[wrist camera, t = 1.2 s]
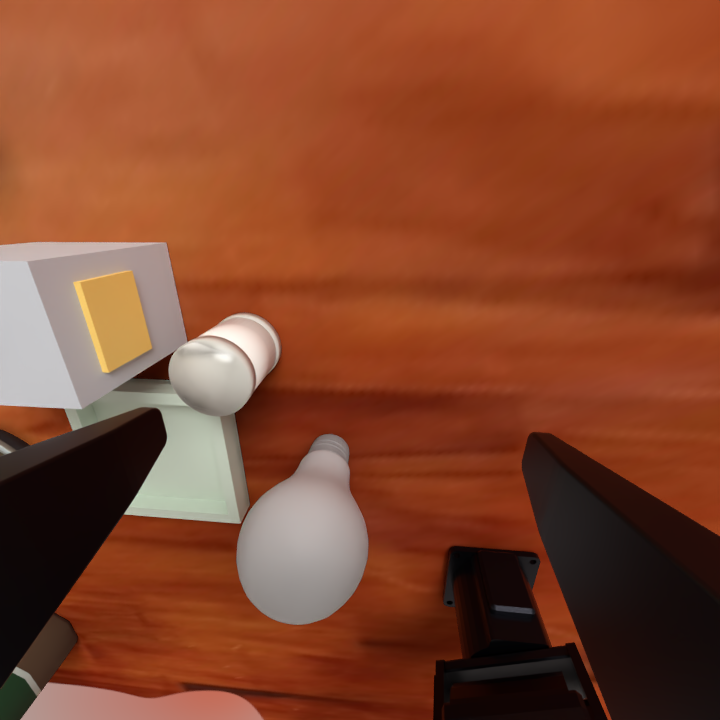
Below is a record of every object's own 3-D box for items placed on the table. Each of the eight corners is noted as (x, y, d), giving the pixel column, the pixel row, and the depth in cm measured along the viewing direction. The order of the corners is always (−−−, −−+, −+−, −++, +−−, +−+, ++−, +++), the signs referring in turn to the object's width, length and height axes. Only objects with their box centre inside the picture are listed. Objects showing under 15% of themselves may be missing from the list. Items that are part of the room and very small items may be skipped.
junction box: (192, 343, 22) (67, 422, 14) (66, 338, 23) (-124, 412, 14) (171, 242, 19) (5, 265, 11) (31, 241, 20) (-220, 263, 12)
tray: (250, 504, 27) (240, 523, 25) (122, 494, 28) (105, 512, 26) (229, 382, 23) (216, 396, 21) (80, 376, 24) (56, 388, 22)
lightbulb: (297, 478, 25) (232, 654, 15) (281, 406, 23) (191, 557, 13) (380, 476, 24) (369, 661, 14) (372, 401, 22) (352, 559, 12)
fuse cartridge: (284, 375, 22) (255, 418, 18) (222, 373, 22) (178, 414, 18) (278, 313, 20) (243, 342, 16) (212, 311, 21) (159, 339, 16)
